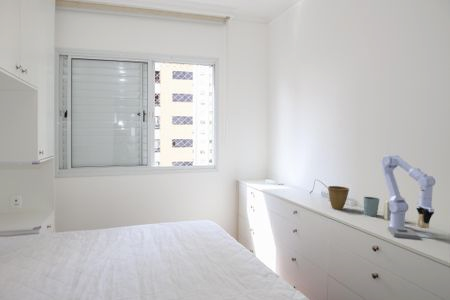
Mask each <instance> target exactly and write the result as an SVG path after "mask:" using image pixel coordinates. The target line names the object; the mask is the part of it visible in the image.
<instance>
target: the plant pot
mask: <svg viewBox="0 0 450 300" xmlns="http://www.w3.org/2000/svg"><path fill="white" fill-rule="evenodd" d="M327 189H328V191H327V192H328V197H329V202H330V205H331V208H332V210H337V209H338V210H341V209H342V210H343V209H344V206H345V204H346V202H347V198H348V196H349V191H350V188H349V187H346V186H339V185H338V186H337V185H330V186H328V187H327ZM338 210H337V211H338Z"/></svg>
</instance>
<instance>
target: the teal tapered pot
mask: <svg viewBox="0 0 450 300" xmlns="http://www.w3.org/2000/svg"><path fill="white" fill-rule="evenodd" d="M379 204H380V198H379V197H376V196H375V197H373V196H363V215H364V216H366V215H367V217H377V216H378V211H379Z"/></svg>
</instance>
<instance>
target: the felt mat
mask: <svg viewBox="0 0 450 300" xmlns="http://www.w3.org/2000/svg"><path fill="white" fill-rule="evenodd" d="M414 232H415V233H416V234H418V235H419V238H422V239H423V238H424V239H425V238H426V239H434V240H436V237H435V236H434V235H433V234H431V233H430V232H422V231H414Z"/></svg>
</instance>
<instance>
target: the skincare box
mask: <svg viewBox="0 0 450 300" xmlns="http://www.w3.org/2000/svg"><path fill="white" fill-rule="evenodd" d="M391 213H392V212H391V211H390V209H389V200H384V205H383V219H384V220H386V221H390V215H391Z"/></svg>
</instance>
